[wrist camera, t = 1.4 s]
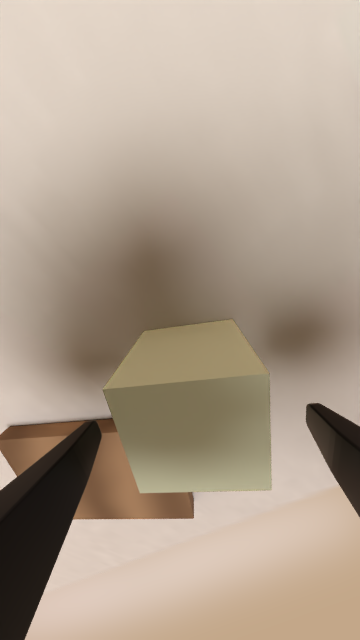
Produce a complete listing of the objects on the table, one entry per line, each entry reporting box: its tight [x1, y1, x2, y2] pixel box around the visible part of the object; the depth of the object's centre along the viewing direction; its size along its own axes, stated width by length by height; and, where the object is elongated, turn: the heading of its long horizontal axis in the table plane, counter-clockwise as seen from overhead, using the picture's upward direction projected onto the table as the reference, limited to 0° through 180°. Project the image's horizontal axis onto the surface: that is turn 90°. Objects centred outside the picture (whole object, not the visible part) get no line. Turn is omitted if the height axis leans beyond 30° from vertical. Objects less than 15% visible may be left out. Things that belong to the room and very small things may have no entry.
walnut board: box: [0, 419, 194, 519], centre depth 15 cm, size 14×10×1 cm
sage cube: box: [103, 319, 272, 493], centre depth 9 cm, size 6×6×6 cm
